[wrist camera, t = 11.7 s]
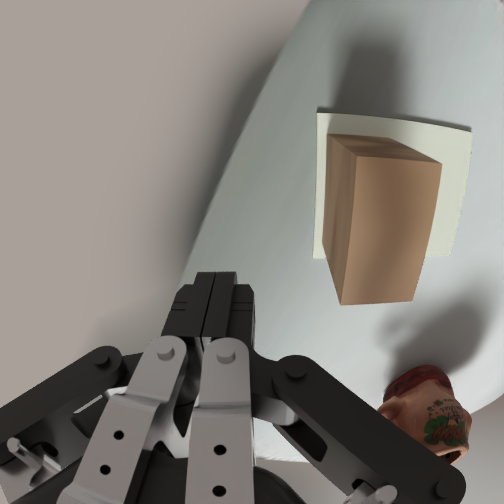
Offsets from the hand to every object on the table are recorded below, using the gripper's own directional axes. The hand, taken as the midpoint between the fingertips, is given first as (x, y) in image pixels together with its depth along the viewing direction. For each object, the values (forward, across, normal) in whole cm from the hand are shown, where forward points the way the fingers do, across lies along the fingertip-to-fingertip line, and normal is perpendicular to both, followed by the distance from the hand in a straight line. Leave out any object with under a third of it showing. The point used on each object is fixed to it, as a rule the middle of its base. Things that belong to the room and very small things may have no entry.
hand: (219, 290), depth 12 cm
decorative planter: (+13, -21, +27) cm, 37 cm away
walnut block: (+12, -9, 0) cm, 15 cm away
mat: (+13, -13, 0) cm, 18 cm away
